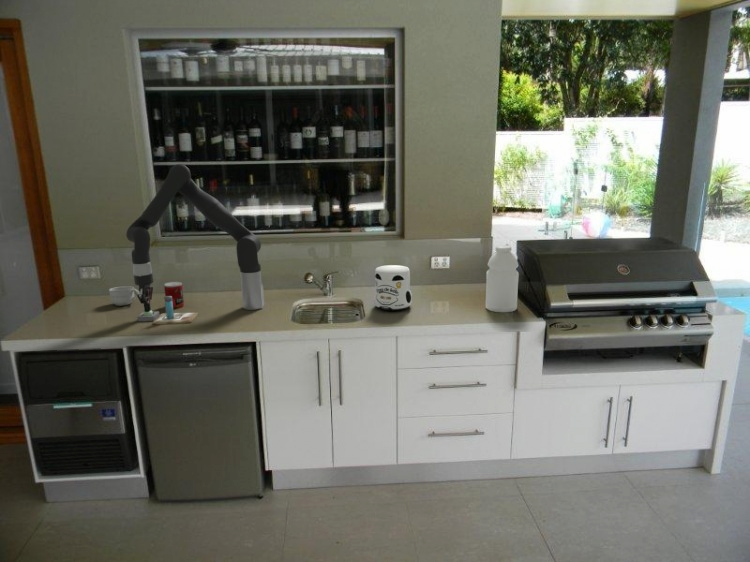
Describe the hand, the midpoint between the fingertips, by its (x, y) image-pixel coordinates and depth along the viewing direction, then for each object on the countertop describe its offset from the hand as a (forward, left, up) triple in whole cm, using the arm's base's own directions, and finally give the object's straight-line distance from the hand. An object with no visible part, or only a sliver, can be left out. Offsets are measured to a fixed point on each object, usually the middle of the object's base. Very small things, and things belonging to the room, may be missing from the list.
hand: (147, 311), depth 244 cm
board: (-13, +2, -3) cm, 13 cm away
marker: (-11, +4, -2) cm, 11 cm away
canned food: (-7, -17, -4) cm, 18 cm away
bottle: (-156, +1, -4) cm, 156 cm away
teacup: (+18, -23, -4) cm, 30 cm away
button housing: (0, 0, -3) cm, 3 cm away
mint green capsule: (0, 0, -4) cm, 4 cm away
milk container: (-108, -5, -4) cm, 108 cm away
